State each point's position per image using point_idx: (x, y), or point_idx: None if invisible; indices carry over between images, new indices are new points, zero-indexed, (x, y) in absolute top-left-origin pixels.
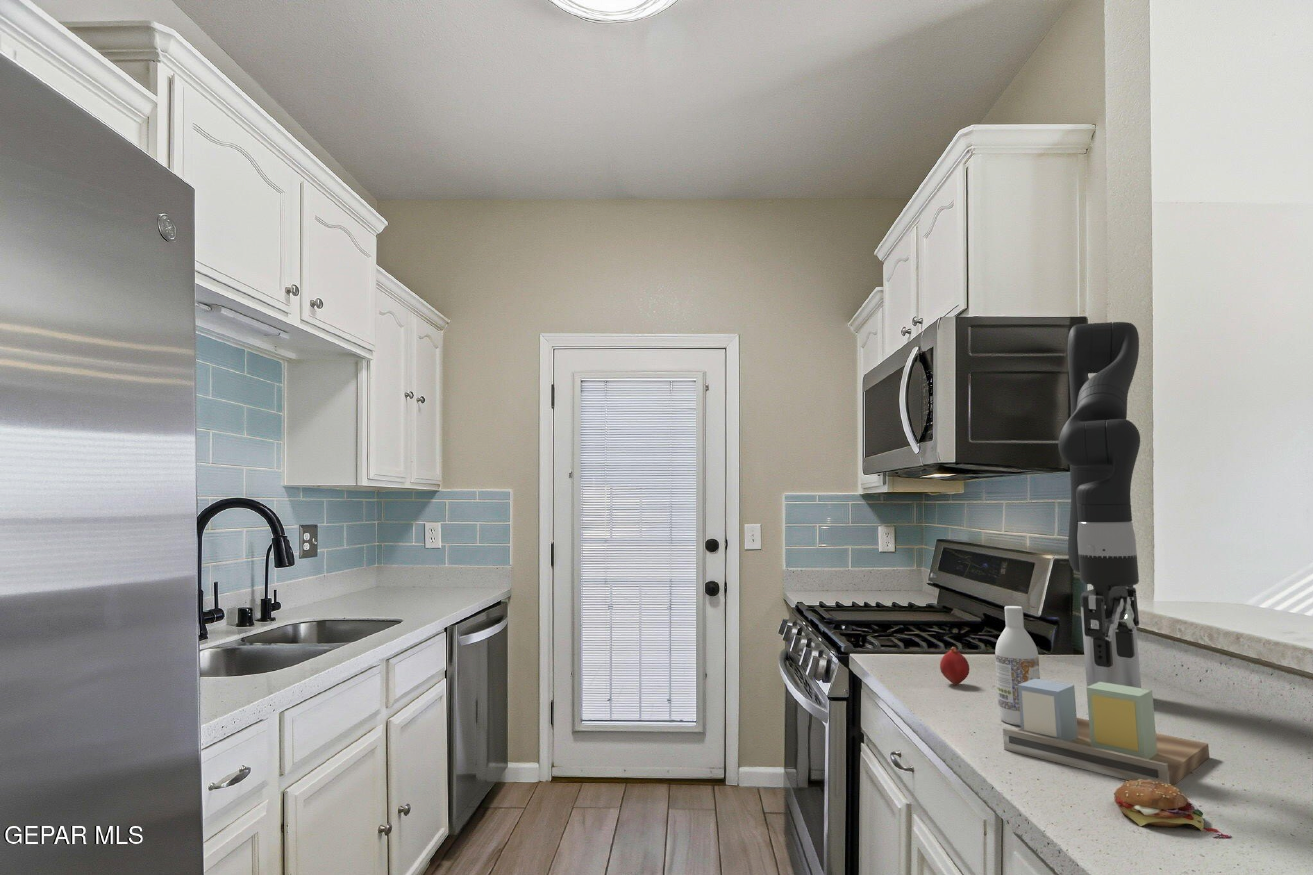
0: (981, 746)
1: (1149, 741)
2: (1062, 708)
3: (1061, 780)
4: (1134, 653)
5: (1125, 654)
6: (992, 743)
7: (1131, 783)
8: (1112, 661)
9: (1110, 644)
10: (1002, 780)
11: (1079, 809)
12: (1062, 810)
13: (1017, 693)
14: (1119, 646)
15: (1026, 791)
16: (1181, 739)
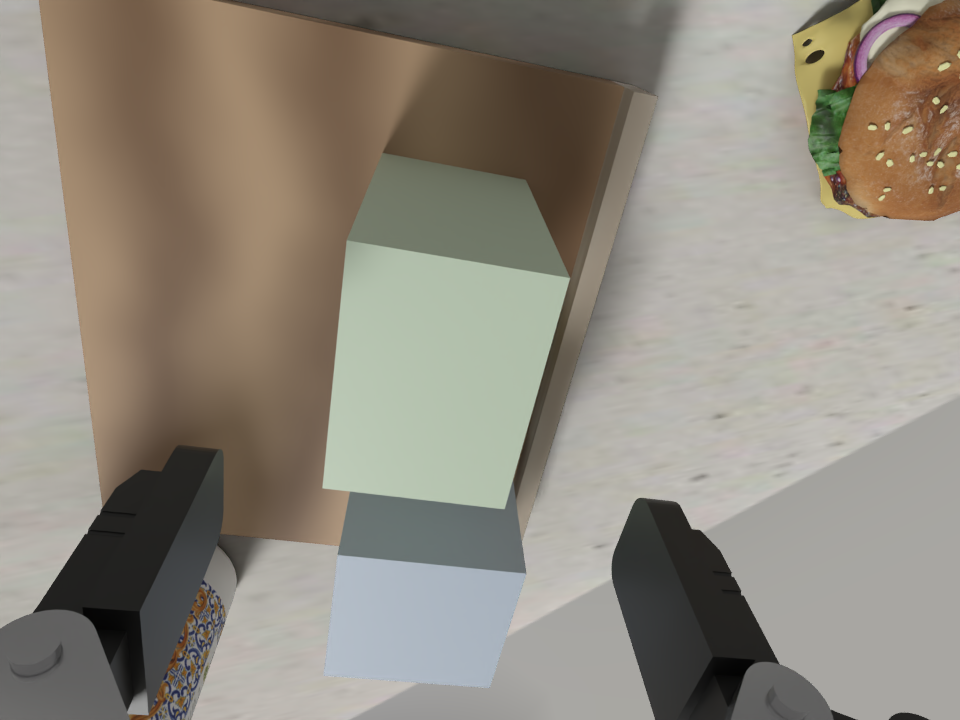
0: None
1: (464, 184)
2: (484, 510)
3: (700, 367)
4: (171, 456)
5: (219, 498)
6: None
7: (921, 180)
8: (659, 517)
9: (728, 632)
10: (772, 475)
11: (929, 285)
12: (951, 318)
13: (200, 654)
14: (197, 575)
15: (835, 415)
16: (73, 85)
